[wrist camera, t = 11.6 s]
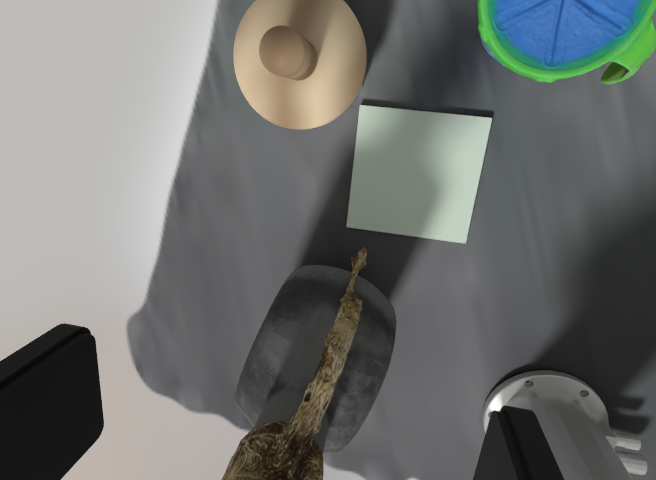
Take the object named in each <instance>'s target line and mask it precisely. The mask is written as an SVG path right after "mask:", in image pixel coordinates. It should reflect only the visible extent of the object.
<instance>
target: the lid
mask: <svg viewBox="0 0 656 480" xmlns="http://www.w3.org/2000/svg"><path fill="white" fill-rule="evenodd" d="M234 67H235V73H236V77H237V80H238V83H239V86H240V88H241V90H242V92H243V94H244V96H245V98H246V99H247V101H248V102H249V103H250V105H251V106H252V107H253V108H254V109H255V110H256V111H257V112H258V113H259V114H260V115H261V116H262V117H264V118H265V119H267V120H268V121H270V122H272V123H274V124H276V125H278V126H282V127H285V128H290V129H311V128H315V127H319V126H322V125H325V124H327V123H330V122H331V121H333V120H335V119H336V118H338V117H339V116H340V115H342V114H343V113H344V112H345V111H346V110H347V109H348V108H349V107H350V105H351V104H352V103H353V101H354V100H355V98H356V97H357V95H358V93H359V91H360V89H361V86H362V84H363V81H364V77H365V73H366V67H367V49H366V43H365V38H364V35H363V32H362V29H361V26H360V24H359V22H358V20H357V18H356V16H355V15H354V13H353V11H352V10H351V8H350V7H349V6H348V5H347V4H346V3H345V1H344V0H256V1H255V2H253V4H252V5H251V6H250V7H249V9H248V10H247V12H246V13H245V15H244V16H243V18H242V20H241V23H240V25H239V27H238V31H237V34H236V38H235V43H234Z"/></svg>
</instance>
